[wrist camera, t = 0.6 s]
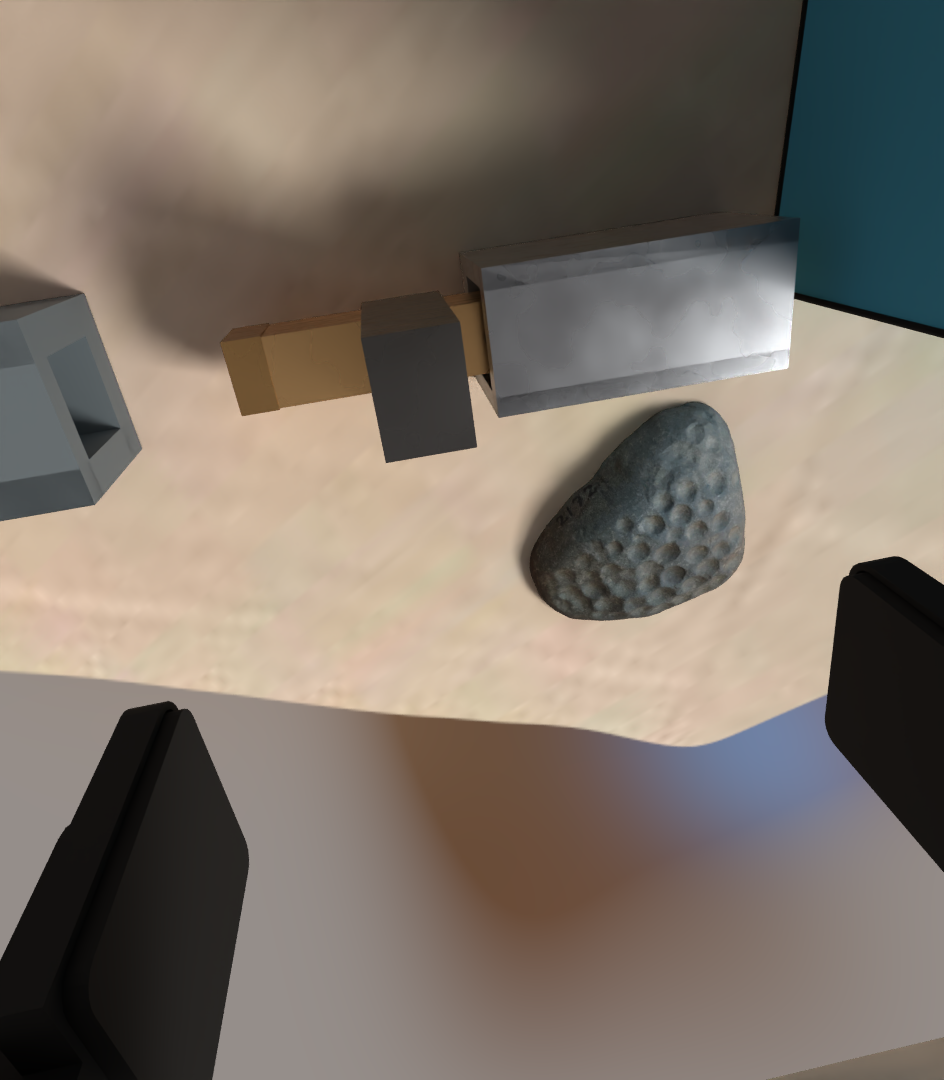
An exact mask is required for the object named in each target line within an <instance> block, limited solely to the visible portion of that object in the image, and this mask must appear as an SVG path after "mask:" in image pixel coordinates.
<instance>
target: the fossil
mask: <svg viewBox="0 0 944 1080" xmlns="http://www.w3.org/2000/svg"><path fill="white" fill-rule="evenodd" d="M744 529H745V507H744V501H743V494H742V487H741V481H740V475H739V468H738V464H737V459H736V454H735V448H734V443H733V440H732V438H731V434H730V431H729V429H728V426H727V424H726V423H725V421H724V420H723V419H722V417H721V416H720V414H719V413H717V412H716V411H715V410H714V409H713V408H712V407H710V406H708V405H705V404H702V403H696V402H692V403H686V404H684V405H683V406H680V407H675V408H671V409H666V410H664V411H662V412H660V413H658V414H656V415H654V416H653V417H651V418H650V419H649V420H648V421H647V422H645V423H644V424H642V425H641V426H640V427H639V428H638V429H637V430H636V431H635V432H633V433H632V434H631V435H630V436H629V437H628V438H626V439H625V440H624V441H623V442H622V443H621V444H620V445H619V446H618V448H616V449H615V450H614V451H613V452H612V453H611V454H610V455H609V456H608V458H607V459H606V460H605V461H604V462H603V463H602V465H601V467H600V469H599V470H598V471H597V473H596V474H595V475H594V477H593V478H592V479H591V480H590V481H589V482H588V483H587V484H586V485H585V486H583V487H582V488H581V489H579V490H578V491H576V492H575V493H574V494H573V495H572V496H571V497H570V498H569V499H568V501H567V502H566V503H565V504H564V505H563V507H562V508H561V509H560V510H559V512H558V513H557V515H556V516H555V517H554V518H553V519H552V520H551V521H550V523H549V524H548V525H547V526H546V528H545V529H544V531H543V532H542V534H541V535H540V537H539V538H538V540H537V542H536V543H535V545H534V548H533V550H532V553H531V558H530V572H531V575H532V578H533V581H534V583H535V586H536V587H537V590H538V592H539V594H540V596H541V597H542V598H543V600H544V601H545V602H546V603H547V604H548V605H549V606H550V607H552V608H553V609H554V610H555V611H557V612H559V613H561V614H563V615H565V616H567V617H569V618H572V619H582V620H598V621H604V620H620V619H628V618H641V617H647V616H651V615H654V614H657V613H660V612H662V611H664V610H666V609H669V608H671V607H674V606H676V605H679V604H682V603H684V602H686V601H688V600H691V599H693V598H695V597H697V596H700V595H702V594H704V593H706V592H709V591H711V590H714V589H716V588H717V587H719V586H720V585H722V584H723V583H724V582H726V581H727V580H728V579H729V578H730V577H731V576H732V575H733V573H734V572H735V571H736V570H737V568H738V566H739V565H740V563H741V561H742V558H743V554H744V545H745V538H744Z"/></svg>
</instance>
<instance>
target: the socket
mask: <svg viewBox="0 0 944 1080" xmlns="http://www.w3.org/2000/svg"><path fill="white" fill-rule="evenodd" d="M141 450H142V447H141V444H140V442H139V439H138V436H137V434H136V431H135V428H134V425H133V423H132V420H131V417H130V415H129V412H128V409H127V407H126V404H125V401H124V399H123V396H122V393H121V391H120V388H119V385H118V383H117V380H116V377H115V375H114V372H113V369H112V367H111V364H110V361H109V359H108V356H107V353H106V351H105V348H104V345H103V343H102V340H101V337H100V334H99V332H98V329H97V326H96V324H95V321H94V318H93V316H92V313H91V310H90V308H89V305H88V302H87V300H86V297H85V294H84V293H83V294H77V295H70V296H64V297H57V298H51V299H45V300H38V301H32V302H25V303H19V304H12V305H6V306H0V521H4V520H10V519H16V518H22V517H28V516H33V515H39V514H45V513H51V512H56V511H62V510H68V509H74V508H80V507H85V506H91V505H95V504H96V503H97V502H98V501H99V500H100V498H101V497H102V496H103V495H104V494H105V492H106V491H107V490H108V489H109V488H110V486H111V485H112V484H113V483H114V482H115V481H116V479H117V478H118V477H119V476H120V475H121V473H122V472H123V471H124V470H125V469H126V467H127V466H128V465H129V464H130V463H131V461H132V460H133V459H134V458H135V457H136V456H137V454H138V453H139V452H140V451H141Z"/></svg>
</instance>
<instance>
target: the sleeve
mask: <svg viewBox="0 0 944 1080" xmlns="http://www.w3.org/2000/svg"><path fill="white" fill-rule="evenodd" d="M799 228H800V218H796V217H782V216H769V215H756V214H743V213H729V212H717V213H710V214H704V215H698V216H691V217H685V218H678V219H672V220H666V221H659V222H653V223H646V224H640V225H634V226H627V227H621V228H614V229H608V230H602V231H595V232H589V233H582V234H576V235H570V236H563V237H557V238H550V239H544V240H538V241H531V242H525V243H519V244H512V245H506V246H499V247H493V248H487V249H480V250H474V251H467V252H461V253H459V254H460V262H461V270H462V277H463V285H464V293H469V292H475V291H480V293H481V302H482V310H483V318H484V326H485V335H486V343H487V351H488V360H489V368H490V373H487V374H481V375H475V377H476V379H477V381H478V383H479V385H480V386H481V388H482V390H483V391H484V393H485V395H486V397H487V398H488V400H489V402H490V404H491V405H492V407H493V409H494V410H495V412H496V414H497V416H498V417H499V418H501V417H506V416H512V415H518V414H524V413H530V412H536V411H541V410H547V409H553V408H559V407H565V406H570V405H576V404H582V403H588V402H594V401H600V400H605V399H611V398H617V397H623V396H629V395H635V394H640V393H646V392H652V391H658V390H664V389H669V388H675V387H681V386H687V385H693V384H699V383H704V382H710V381H716V380H722V379H728V378H734V377H739V376H745V375H751V374H757V373H763V372H769V371H774V370H780V369H786V368H788V365H789V352H790V340H791V327H792V315H793V302H794V290H795V278H796V265H797V253H798V240H799Z"/></svg>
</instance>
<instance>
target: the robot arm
mask: <svg viewBox="0 0 944 1080" xmlns="http://www.w3.org/2000/svg"><path fill="white" fill-rule="evenodd" d="M825 725H826V729H827V732H828V735H829V737H830V738H831V740H832V742H833V743H834V744H835V746H836V747H837V748H838V749H839V751H840V752H841V753H842V754H843V755H844V756H845V758H846V759H847V760H848V761H849V762H850V763H851V765H852V766H853V767H854V768H855V769H856V770H857V771H858V773H859V774H860V775H861V776H862V777H863V779H864V780H865V781H866V782H867V783H868V784H869V786H870V787H871V788H872V789H873V790H874V791H875V793H876V794H877V795H878V796H879V797H880V798H881V800H882V801H883V802H884V803H885V804H886V805H887V807H888V808H889V809H890V810H891V811H892V812H893V814H894V815H895V816H896V817H897V818H898V819H899V821H900V822H901V823H902V824H903V825H904V826H905V828H906V829H907V830H908V831H909V832H910V833H911V835H912V836H913V837H914V838H915V839H916V841H917V842H918V843H919V844H920V845H921V846H922V848H923V849H924V850H925V851H926V852H927V853H928V855H929V856H930V857H931V858H932V859H933V860H934V861H935V863H936V864H937V865H938V866H939V867H940V868H941V870H942V871H943V872H944V585H943V584H942V583H940V582H939V581H937V580H936V579H934V578H933V577H931V576H930V575H928V574H927V573H925V572H924V571H922V570H921V569H919V568H918V567H916V566H915V565H913V564H912V563H910V562H909V561H907V560H906V559H904V558H901V557H897V556H893V557H888V558H883V559H878V560H873V561H868V562H863V563H858V564H856V565H854V566H853V567H852V569H851V570H850V573H849V576H846V577H844V578H843V579H842V581H841V584H840V590H839V599H838V608H837V616H836V625H835V634H834V642H833V651H832V660H831V669H830V677H829V686H828V695H827V704H826V712H825ZM248 868H249V855H248V848H247V844H246V841H245V838H244V836H243V834H242V831H241V829H240V826H239V824H238V821H237V819H236V817H235V814H234V812H233V810H232V807H231V805H230V803H229V800H228V798H227V795H226V793H225V791H224V788H223V786H222V783H221V781H220V779H219V776H218V774H217V772H216V769H215V767H214V764H213V762H212V760H211V757H210V755H209V753H208V750H207V748H206V746H205V743H204V741H203V739H202V736H201V734H200V732H199V729H198V727H197V724H196V722H195V719H194V717H193V715H192V713H191V712H190V711H189V710H188V709H181V710H178V708H177V706H176V705H175V704H174V703H172V702H170V701H167V702H162V703H157V704H152V705H147V706H142V707H137V708H132V709H128V710H126V711H125V712H124V713H123V714H122V716H121V717H120V719H119V722H118V724H117V726H116V728H115V730H114V732H113V735H112V737H111V739H110V741H109V743H108V745H107V747H106V749H105V751H104V754H103V756H102V758H101V760H100V762H99V765H98V766H97V769H96V771H95V773H94V775H93V777H92V779H91V782H90V784H89V786H88V788H87V790H86V792H85V794H84V796H83V798H82V801H81V803H80V805H79V807H78V809H77V811H76V814H75V815H74V818H73V820H72V822H71V824H70V825H69V826H67V827H66V828H65V830H64V831H63V833H62V834H61V836H60V838H59V839H58V841H57V843H56V845H55V847H54V849H53V851H52V854H51V856H50V858H49V860H48V862H47V864H46V866H45V868H44V870H43V872H42V874H41V877H40V879H39V881H38V883H37V885H36V887H35V889H34V891H33V893H32V896H31V898H30V900H29V902H28V904H27V906H26V908H25V910H24V912H23V914H22V916H21V918H20V921H19V923H18V925H17V927H16V929H15V931H14V933H13V935H12V937H11V940H10V941H9V944H8V946H7V948H6V950H5V952H4V954H3V956H2V958H1V960H0V1080H212V1077H213V1071H214V1066H215V1059H216V1054H217V1048H218V1043H219V1037H220V1031H221V1025H222V1019H223V1014H224V1008H225V1002H226V996H227V991H228V985H229V979H230V973H231V968H232V962H233V956H234V950H235V944H236V939H237V933H238V927H239V921H240V916H241V910H242V904H243V898H244V893H245V887H246V880H247V875H248ZM768 1080H944V1037H943V1038H939V1039H935V1040H930V1041H926V1042H922V1043H918V1044H914V1045H909V1046H906V1047H901V1048H897V1049H892V1050H888V1051H884V1052H880V1053H875V1054H871V1055H867V1056H863V1057H859V1058H855V1059H850V1060H846V1061H842V1062H838V1063H834V1064H830V1065H826V1066H822V1067H817V1068H813V1069H809V1070H805V1071H801V1072H797V1073H793V1074H788V1075H785V1076H780V1077H776V1078H772V1079H768Z"/></svg>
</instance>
